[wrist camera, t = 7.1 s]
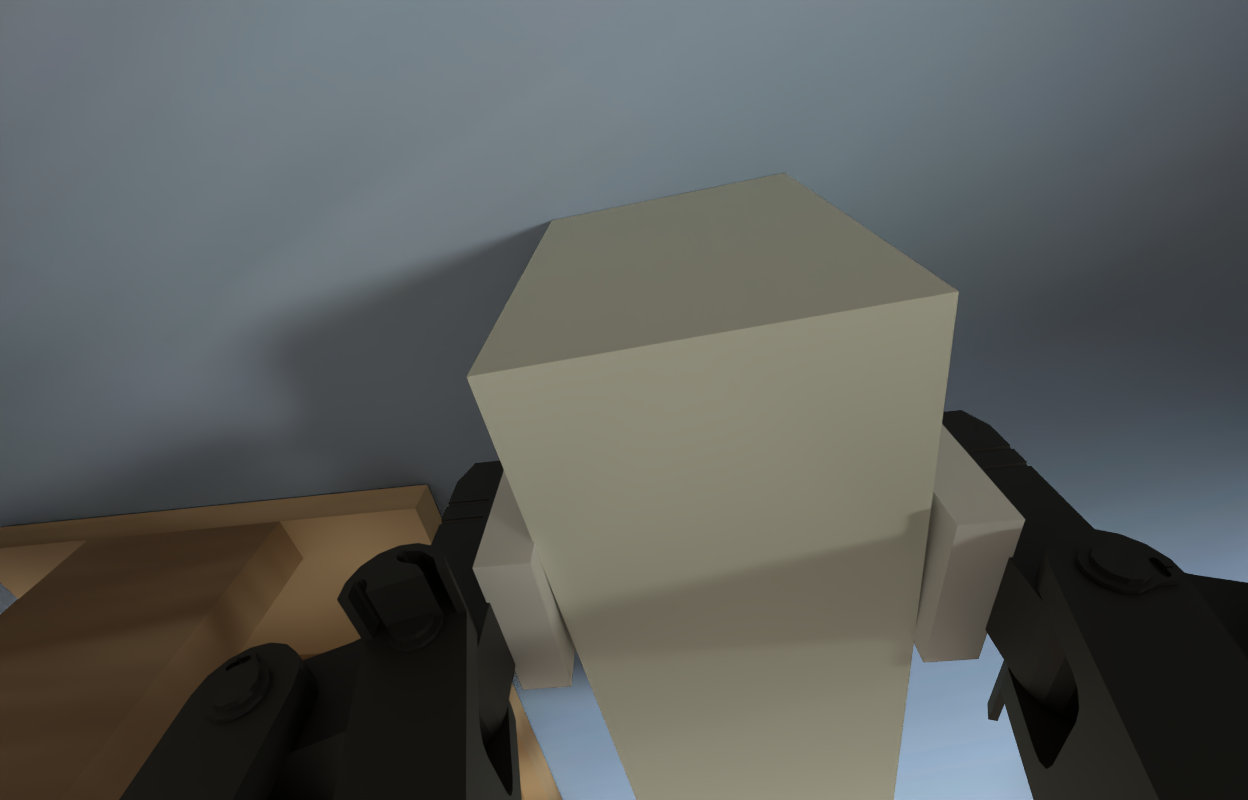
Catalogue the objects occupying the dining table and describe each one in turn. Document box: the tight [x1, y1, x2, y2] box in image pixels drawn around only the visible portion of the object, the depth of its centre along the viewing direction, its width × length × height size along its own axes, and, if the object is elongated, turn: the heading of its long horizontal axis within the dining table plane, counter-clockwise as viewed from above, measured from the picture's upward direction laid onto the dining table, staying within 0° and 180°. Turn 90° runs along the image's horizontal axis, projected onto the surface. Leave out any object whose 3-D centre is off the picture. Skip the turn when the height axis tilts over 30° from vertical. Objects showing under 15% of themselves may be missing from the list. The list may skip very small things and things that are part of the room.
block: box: [467, 173, 959, 800], centre depth 13 cm, size 16×5×7 cm, turn 11°
